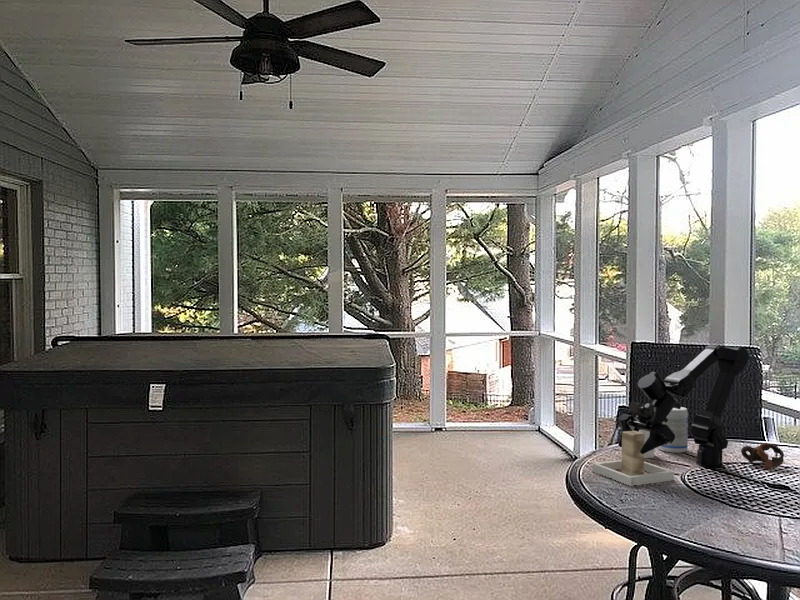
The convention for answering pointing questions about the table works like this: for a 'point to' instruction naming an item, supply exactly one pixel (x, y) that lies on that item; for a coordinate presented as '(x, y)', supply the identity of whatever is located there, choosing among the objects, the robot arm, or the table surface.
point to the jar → (646, 435)
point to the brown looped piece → (763, 455)
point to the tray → (655, 475)
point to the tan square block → (632, 453)
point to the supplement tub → (677, 431)
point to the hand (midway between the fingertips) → (630, 449)
